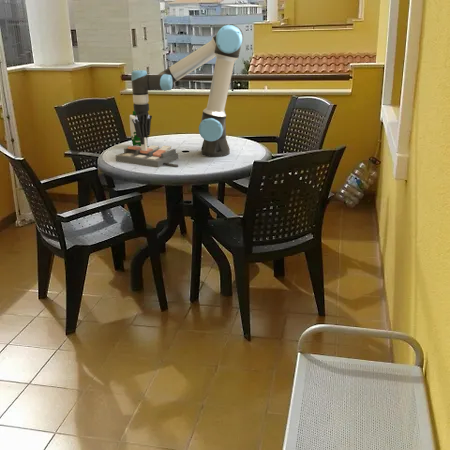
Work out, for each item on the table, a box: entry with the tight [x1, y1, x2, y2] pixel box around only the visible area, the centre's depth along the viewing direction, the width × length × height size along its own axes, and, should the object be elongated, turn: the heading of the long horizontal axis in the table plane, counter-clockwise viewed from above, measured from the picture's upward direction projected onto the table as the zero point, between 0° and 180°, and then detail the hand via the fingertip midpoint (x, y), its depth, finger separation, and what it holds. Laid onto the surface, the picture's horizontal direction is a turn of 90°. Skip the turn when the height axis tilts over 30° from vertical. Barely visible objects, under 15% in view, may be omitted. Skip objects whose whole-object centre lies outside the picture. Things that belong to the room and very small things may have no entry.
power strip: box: [115, 145, 179, 168], centre depth 269 cm, size 36×17×5 cm, turn 59°
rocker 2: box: [153, 145, 172, 157], centre depth 268 cm, size 4×10×1 cm, turn 149°
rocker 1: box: [127, 145, 141, 150], centre depth 276 cm, size 4×10×1 cm, turn 149°
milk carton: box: [129, 110, 141, 146], centre depth 294 cm, size 9×9×20 cm
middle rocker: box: [140, 144, 160, 154], centre depth 272 cm, size 4×10×1 cm, turn 149°
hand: (144, 150), depth 269 cm, fingers closed
